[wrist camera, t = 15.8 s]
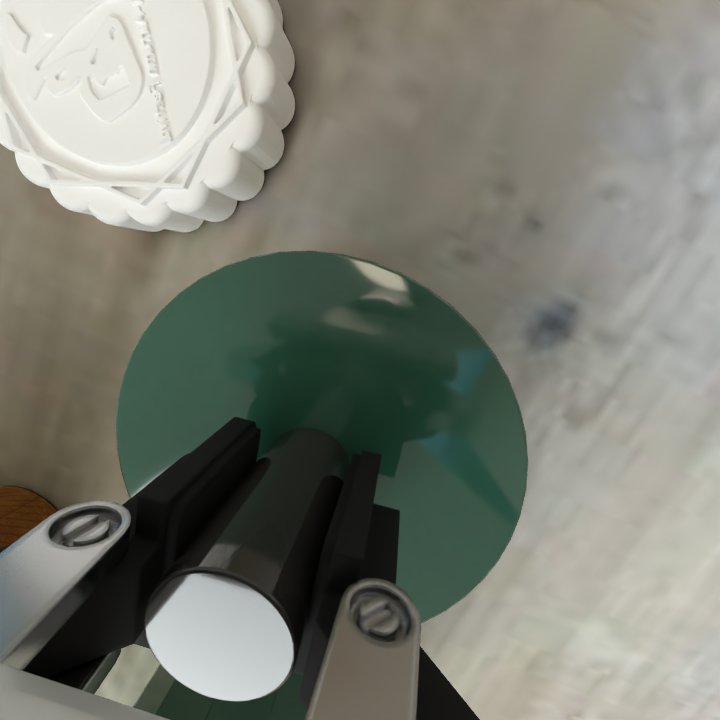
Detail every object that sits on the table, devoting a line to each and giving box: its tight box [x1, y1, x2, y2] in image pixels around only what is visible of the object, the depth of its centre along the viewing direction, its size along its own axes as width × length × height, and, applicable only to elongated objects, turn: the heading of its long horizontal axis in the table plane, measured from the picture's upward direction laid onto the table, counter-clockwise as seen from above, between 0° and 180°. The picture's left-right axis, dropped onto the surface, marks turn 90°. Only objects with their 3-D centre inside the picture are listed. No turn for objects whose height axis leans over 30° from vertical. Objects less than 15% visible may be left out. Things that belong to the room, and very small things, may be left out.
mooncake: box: [0, 0, 295, 232], centre depth 15 cm, size 12×12×4 cm
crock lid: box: [116, 251, 528, 702], centre depth 9 cm, size 12×12×7 cm
